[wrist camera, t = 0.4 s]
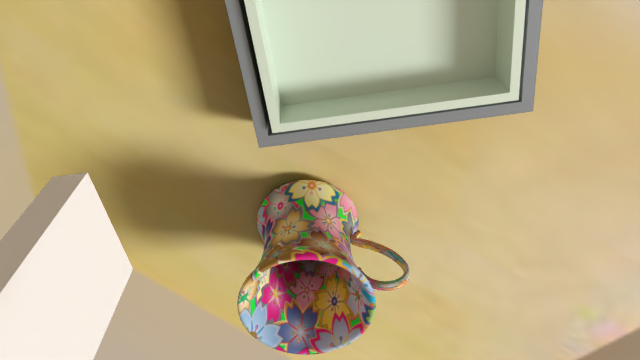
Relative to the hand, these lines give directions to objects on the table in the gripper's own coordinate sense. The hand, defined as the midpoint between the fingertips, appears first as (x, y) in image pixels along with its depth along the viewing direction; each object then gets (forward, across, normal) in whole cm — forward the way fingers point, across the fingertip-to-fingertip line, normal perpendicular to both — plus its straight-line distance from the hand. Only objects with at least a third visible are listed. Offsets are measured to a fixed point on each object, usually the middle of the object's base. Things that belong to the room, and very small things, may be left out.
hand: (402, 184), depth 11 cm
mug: (+25, -4, -19) cm, 32 cm away
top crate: (+25, +2, -2) cm, 26 cm away
